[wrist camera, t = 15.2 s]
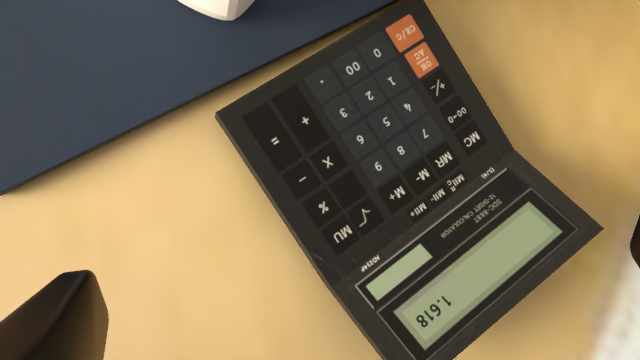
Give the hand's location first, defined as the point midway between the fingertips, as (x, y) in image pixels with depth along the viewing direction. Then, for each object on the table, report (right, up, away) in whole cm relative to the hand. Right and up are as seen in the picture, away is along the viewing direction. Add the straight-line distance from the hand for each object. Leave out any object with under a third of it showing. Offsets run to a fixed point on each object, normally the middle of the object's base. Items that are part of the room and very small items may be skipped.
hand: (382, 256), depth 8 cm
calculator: (+2, +1, +12) cm, 12 cm away
